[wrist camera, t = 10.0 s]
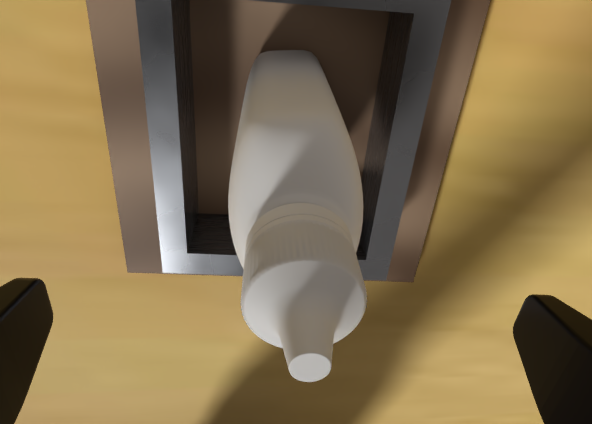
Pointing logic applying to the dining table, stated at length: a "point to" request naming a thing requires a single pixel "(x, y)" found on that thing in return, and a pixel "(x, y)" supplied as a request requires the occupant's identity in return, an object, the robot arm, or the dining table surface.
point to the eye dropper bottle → (296, 212)
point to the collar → (380, 148)
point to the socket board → (231, 89)
